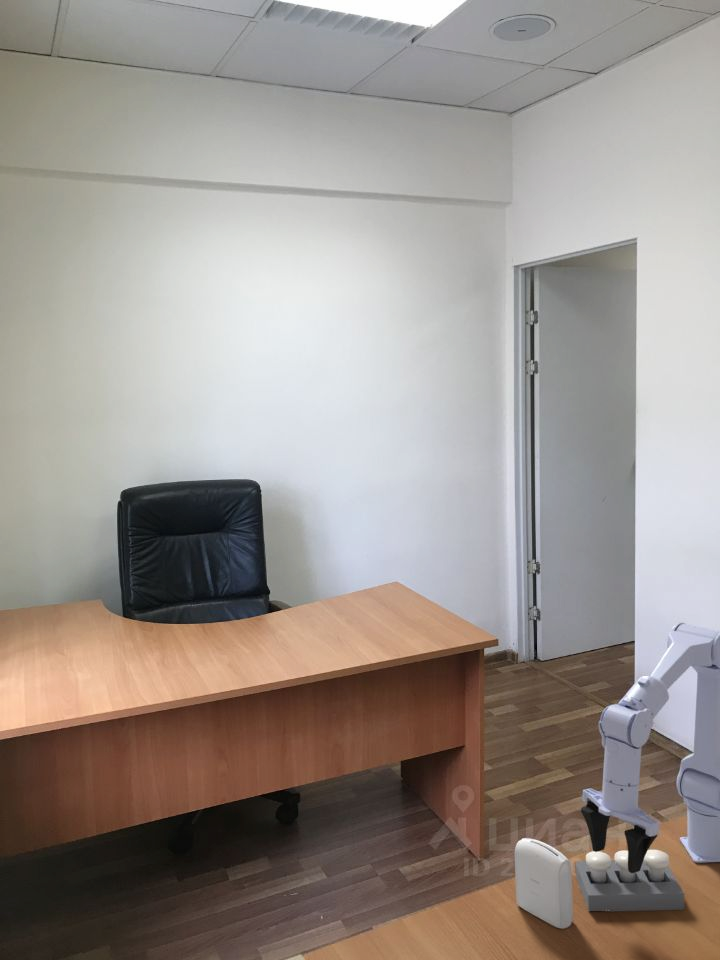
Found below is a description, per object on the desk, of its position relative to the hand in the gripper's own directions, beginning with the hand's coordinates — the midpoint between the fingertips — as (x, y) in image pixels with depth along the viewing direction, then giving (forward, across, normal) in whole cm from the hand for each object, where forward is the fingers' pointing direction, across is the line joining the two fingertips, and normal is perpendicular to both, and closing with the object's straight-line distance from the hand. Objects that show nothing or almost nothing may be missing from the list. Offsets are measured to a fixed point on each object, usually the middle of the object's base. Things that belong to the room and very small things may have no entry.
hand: (615, 860), depth 135 cm
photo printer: (+12, -8, -7) cm, 16 cm away
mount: (+9, -4, +8) cm, 13 cm away
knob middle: (+7, -4, +8) cm, 11 cm away
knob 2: (+6, -1, +12) cm, 14 cm away
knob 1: (+7, -7, +4) cm, 11 cm away
